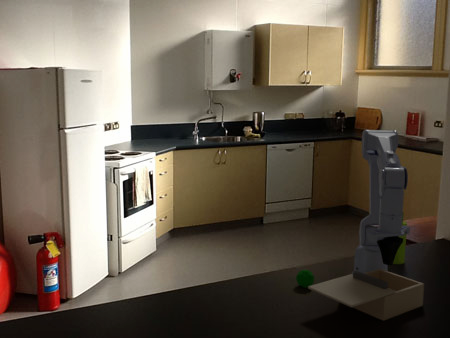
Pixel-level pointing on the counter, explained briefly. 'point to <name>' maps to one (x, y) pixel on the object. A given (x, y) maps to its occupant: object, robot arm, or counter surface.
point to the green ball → (305, 278)
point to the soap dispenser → (401, 248)
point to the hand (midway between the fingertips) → (387, 264)
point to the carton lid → (353, 289)
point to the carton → (394, 296)
